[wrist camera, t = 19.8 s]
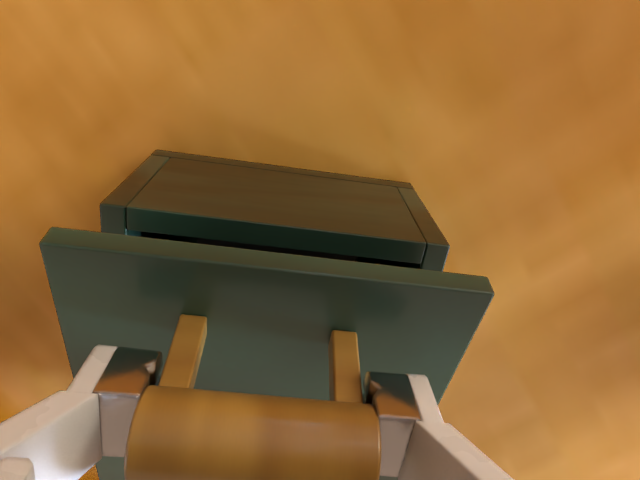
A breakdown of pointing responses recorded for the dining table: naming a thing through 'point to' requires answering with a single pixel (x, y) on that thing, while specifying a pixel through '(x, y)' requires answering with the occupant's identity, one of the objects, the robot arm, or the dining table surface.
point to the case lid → (256, 350)
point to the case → (275, 210)
